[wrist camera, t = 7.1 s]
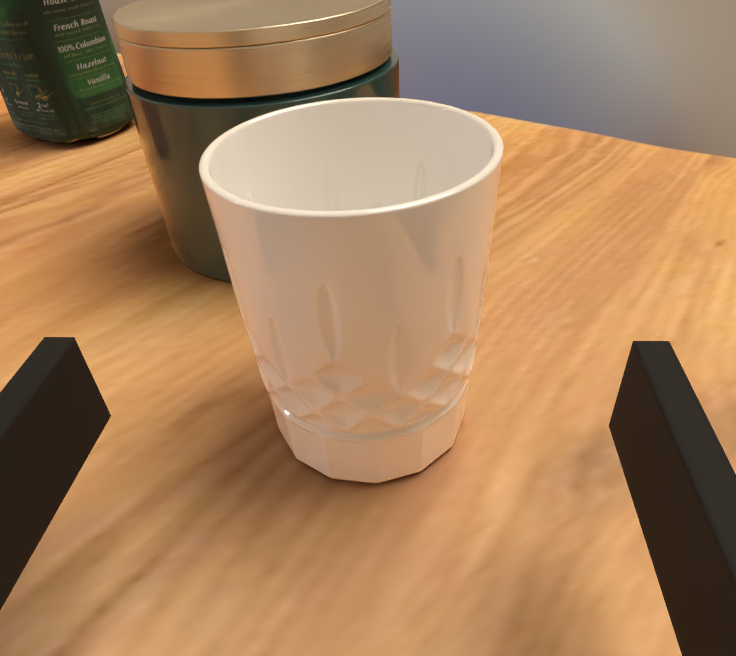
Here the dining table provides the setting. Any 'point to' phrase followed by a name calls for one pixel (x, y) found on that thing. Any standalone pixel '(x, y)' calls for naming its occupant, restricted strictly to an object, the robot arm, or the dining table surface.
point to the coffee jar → (60, 70)
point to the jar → (197, 131)
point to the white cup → (360, 271)
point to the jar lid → (250, 45)
